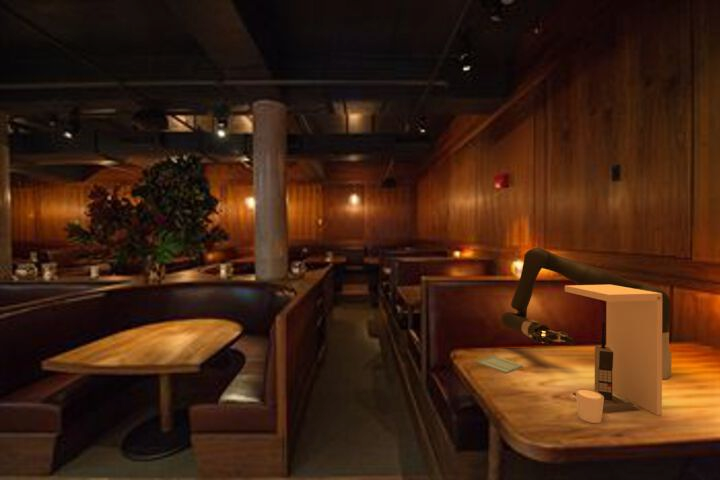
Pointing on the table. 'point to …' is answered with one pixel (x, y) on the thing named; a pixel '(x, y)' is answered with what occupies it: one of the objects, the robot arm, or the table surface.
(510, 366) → the pale green flat pad
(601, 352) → the vintage mobile phone
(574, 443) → the table surface
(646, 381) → the overhang shelf
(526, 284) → the robot arm
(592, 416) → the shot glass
